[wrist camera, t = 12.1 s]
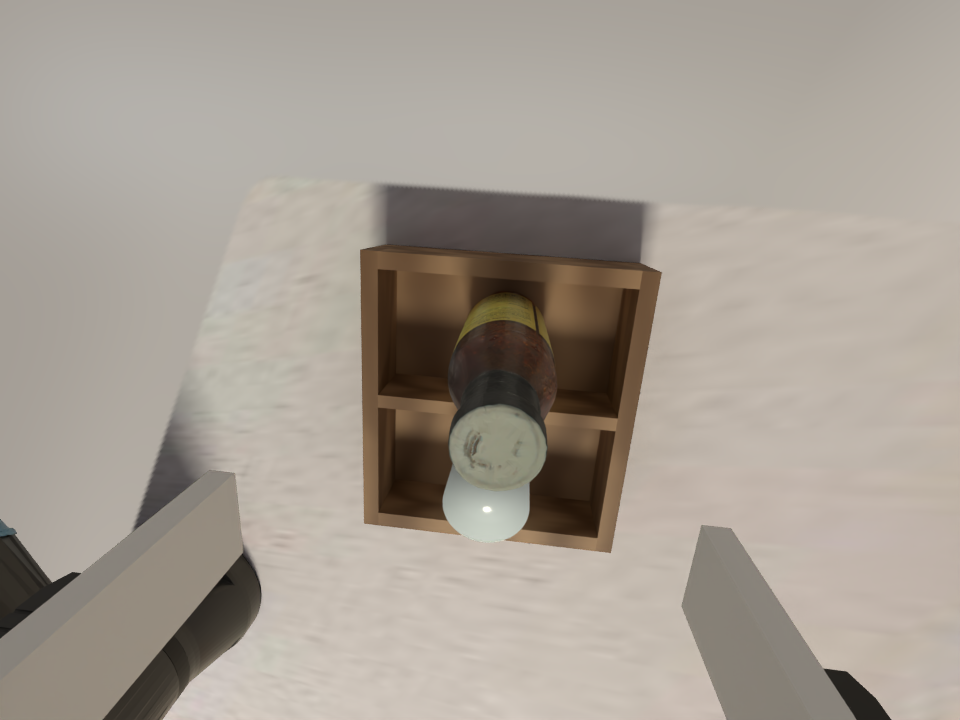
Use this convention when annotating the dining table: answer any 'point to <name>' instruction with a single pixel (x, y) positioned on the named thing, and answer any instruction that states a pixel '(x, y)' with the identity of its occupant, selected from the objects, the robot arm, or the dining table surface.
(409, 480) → the caddy
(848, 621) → the dining table surface
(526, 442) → the sauce bottle
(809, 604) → the dining table surface
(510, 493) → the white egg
